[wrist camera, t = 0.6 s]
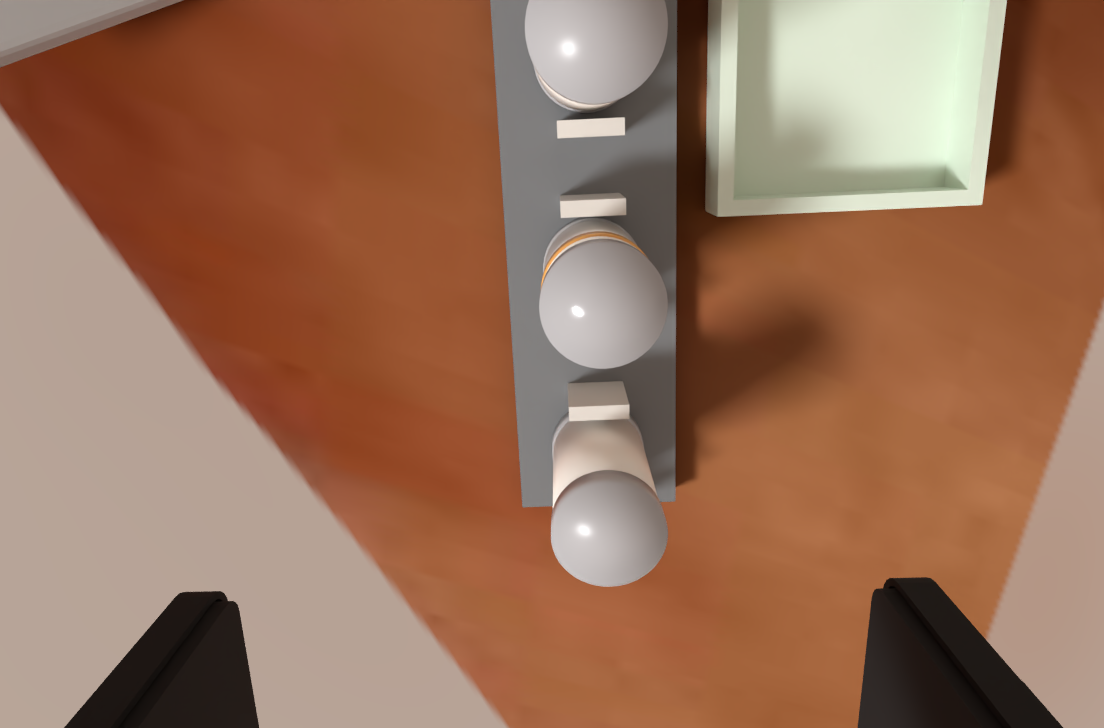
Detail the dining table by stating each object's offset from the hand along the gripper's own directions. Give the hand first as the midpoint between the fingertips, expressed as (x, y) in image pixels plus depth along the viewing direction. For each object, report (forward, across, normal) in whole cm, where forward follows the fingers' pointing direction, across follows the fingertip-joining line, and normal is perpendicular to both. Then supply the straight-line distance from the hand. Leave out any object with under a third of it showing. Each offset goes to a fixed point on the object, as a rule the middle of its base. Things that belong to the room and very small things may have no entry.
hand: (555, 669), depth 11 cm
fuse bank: (+23, -2, -3) cm, 23 cm away
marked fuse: (+21, -2, -3) cm, 22 cm away
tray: (+22, -11, -10) cm, 27 cm away
